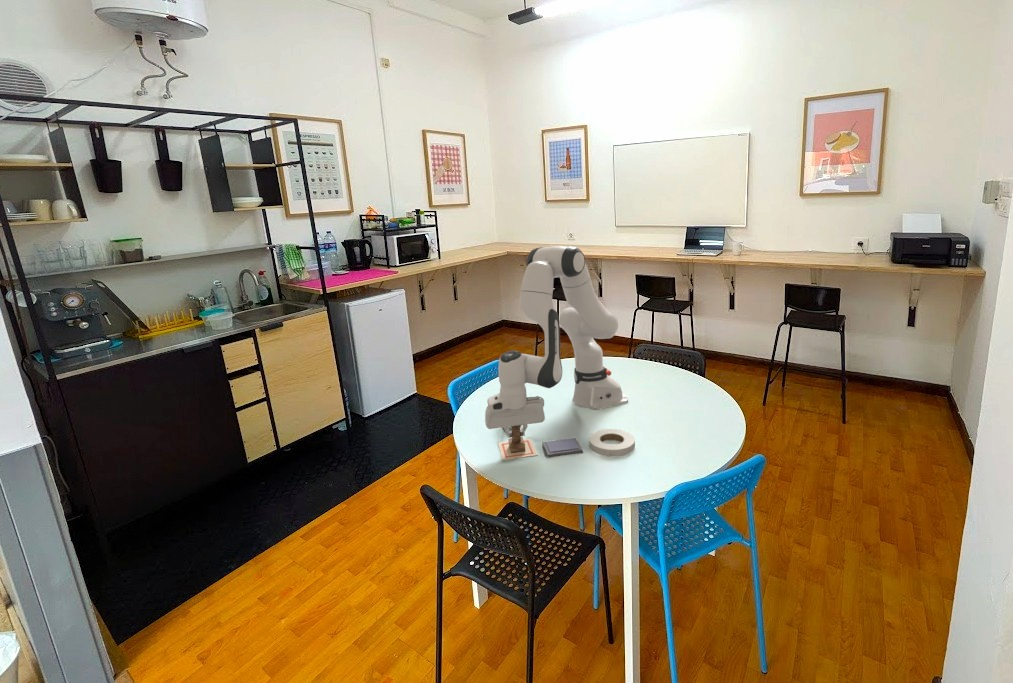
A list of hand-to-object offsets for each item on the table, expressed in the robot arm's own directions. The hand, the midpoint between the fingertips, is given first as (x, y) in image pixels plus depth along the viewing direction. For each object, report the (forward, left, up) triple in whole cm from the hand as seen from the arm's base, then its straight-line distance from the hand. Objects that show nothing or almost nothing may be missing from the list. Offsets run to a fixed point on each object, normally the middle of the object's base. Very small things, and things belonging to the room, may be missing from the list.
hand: (516, 436), depth 176 cm
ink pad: (-15, +4, -5) cm, 16 cm away
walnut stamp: (0, 0, -5) cm, 5 cm away
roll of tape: (-32, +6, -6) cm, 33 cm away
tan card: (0, 0, -5) cm, 5 cm away
